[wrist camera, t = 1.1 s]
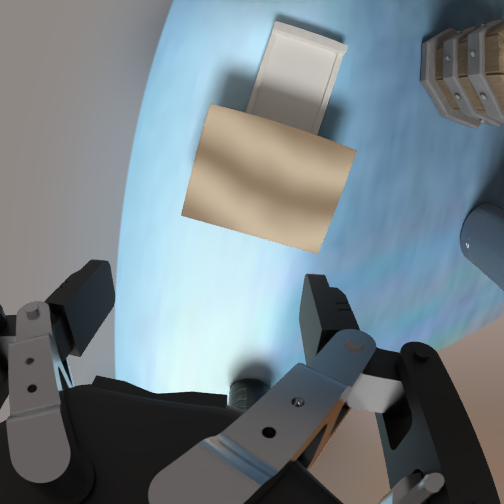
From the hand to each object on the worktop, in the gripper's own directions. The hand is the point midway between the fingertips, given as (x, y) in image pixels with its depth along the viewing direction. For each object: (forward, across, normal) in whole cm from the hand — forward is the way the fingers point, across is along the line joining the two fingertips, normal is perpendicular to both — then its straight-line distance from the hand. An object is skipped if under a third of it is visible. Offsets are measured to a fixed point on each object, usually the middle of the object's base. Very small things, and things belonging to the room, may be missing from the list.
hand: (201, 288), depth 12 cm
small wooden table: (+25, -3, -1) cm, 25 cm away
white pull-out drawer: (+25, -5, -10) cm, 27 cm away
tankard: (+25, -30, -19) cm, 43 cm away
